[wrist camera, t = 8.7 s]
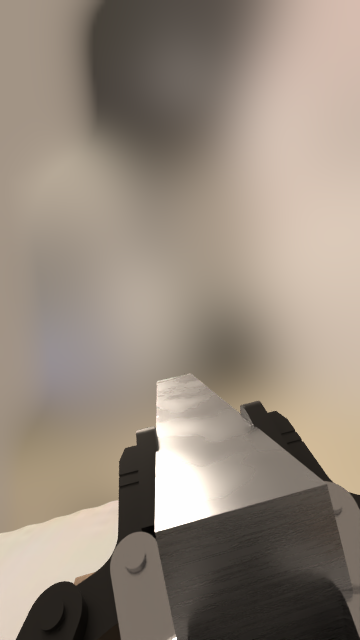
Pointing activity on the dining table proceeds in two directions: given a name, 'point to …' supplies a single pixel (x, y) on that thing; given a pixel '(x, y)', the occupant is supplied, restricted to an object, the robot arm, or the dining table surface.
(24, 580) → the dining table surface
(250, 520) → the steel bar
